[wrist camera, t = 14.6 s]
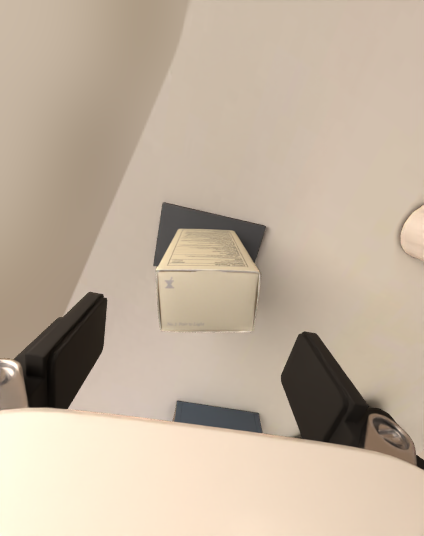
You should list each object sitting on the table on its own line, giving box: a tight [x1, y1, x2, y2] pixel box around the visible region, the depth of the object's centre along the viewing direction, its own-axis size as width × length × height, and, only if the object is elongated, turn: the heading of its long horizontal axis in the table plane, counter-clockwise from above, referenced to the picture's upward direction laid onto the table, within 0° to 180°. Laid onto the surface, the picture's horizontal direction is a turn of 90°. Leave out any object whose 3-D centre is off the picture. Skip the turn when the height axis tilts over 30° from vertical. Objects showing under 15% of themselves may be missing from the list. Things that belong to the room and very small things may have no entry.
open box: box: [172, 401, 262, 433], centre depth 34 cm, size 13×14×6 cm
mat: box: [153, 203, 266, 267], centre depth 25 cm, size 11×7×1 cm, turn 77°
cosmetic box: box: [156, 229, 261, 333], centre depth 20 cm, size 6×4×12 cm
